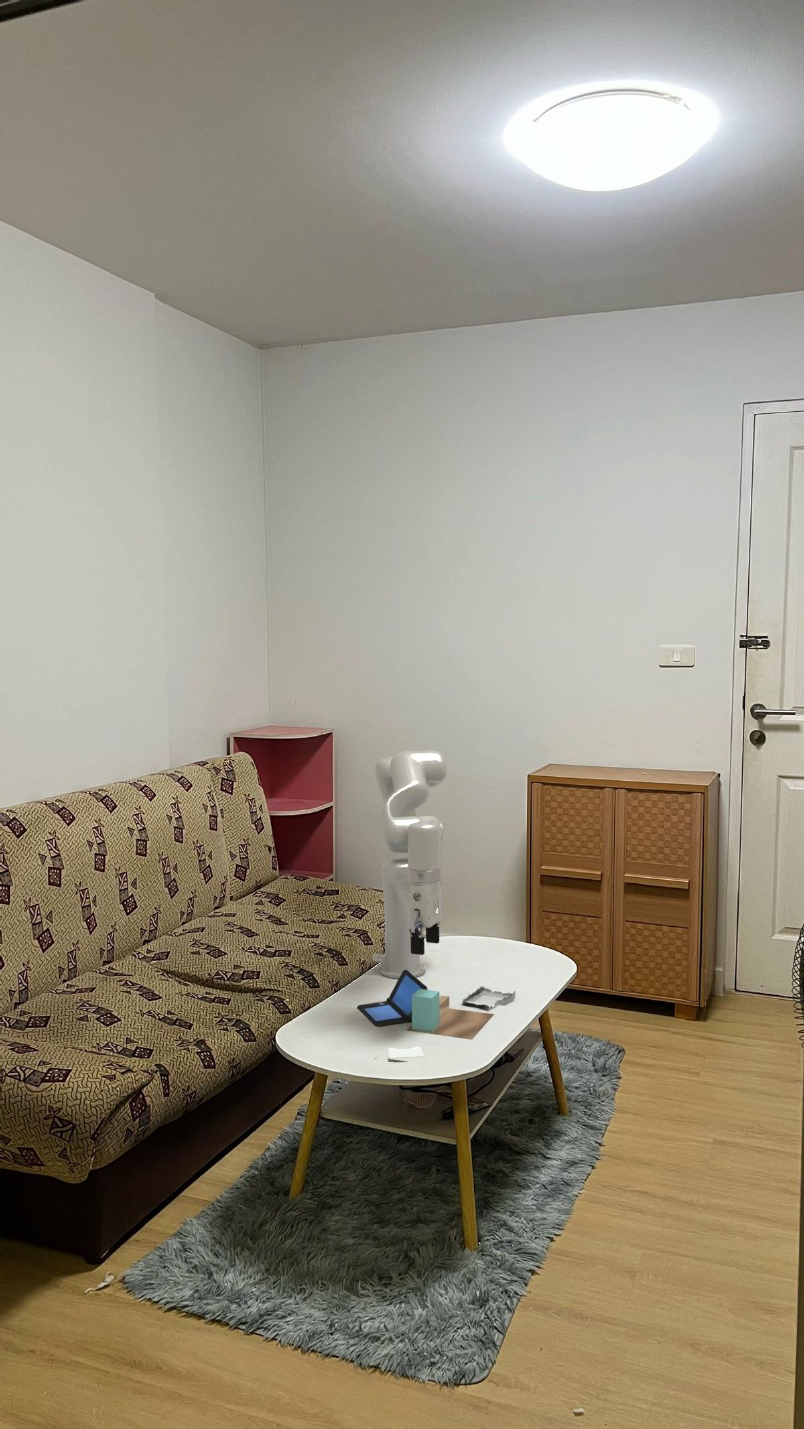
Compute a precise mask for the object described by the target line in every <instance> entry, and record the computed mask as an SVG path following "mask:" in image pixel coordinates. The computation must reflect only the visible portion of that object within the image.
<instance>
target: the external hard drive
mask: <svg viewBox="0 0 804 1429" xmlns="http://www.w3.org/2000/svg"><path fill="white" fill-rule="evenodd" d="M388 1056H389V1058H387V1062H394V1063H408V1060H399V1058H400V1059H402V1058H418V1057H419V1058H420V1057H425V1054H424V1051H423V1050H422V1048H421V1046H420V1045H418V1046H414V1047H409V1048H396V1047H395V1048H394V1047H388Z"/></svg>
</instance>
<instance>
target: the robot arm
mask: <svg viewBox="0 0 804 1429" xmlns="http://www.w3.org/2000/svg"><path fill="white" fill-rule="evenodd" d="M374 771H375V772H374V774H375V779H376V784H377V786H378V788H379V789H378V790H379V791H380V794H381V796H382V800H383V806H382V809H381V815H380V820H381V821H380V823H381V828H382V829H381V830H382V836H383V840H384V843H385V845H386V847H387V850H388V851H389V852H392V853H396V854H406V853H407V857H395V858H391V859H390V858H389V859H388V860H385V862H384V863H383V864H382V866H381V868H380V879H381V885H382V892H383V900H384V901H383V902H384V950H385V951H384V952H385V953H383V954H381V953H372V957H371V958H372V962H373V963H375V964H376V963H377V964H378V963H379V964H380V965H381V966H380V967H379V973H380V974H381V975H382V976H384V977H388V978H392V979H399V977H400V976H401V974H402V972H403V971H404V970H408V971H409V972H410V973H411V974H412V975H413V976H415V977H416V978H417V977H421V976H423V975H424V974H425V973H426V971H427V969H426V968H427V967H426V965H424V964H423V963H421V956H423V955H425V952H426V951H425V941H426V943H427V944H439V943H440V923H441V922H440V921H441V920H442V919H443V901H442V899H443V898H442V889H444V886H445V881H446V880H445V879H446V866H445V838H444V827H443V823H442V822H441V820H440V819H439V818H438V817H436V816H433V815H423V816H422V815H420V816H416V815H417V812H416V811H417V809H418V808H421V807H423V805H425V803H426V802H427V801H428V799H429V797H430V796H429V795H430V791H429V788H435V787H437V786H439V785H441V784H443V783H444V781H445V779H446V778H447V773H448V766H447V760H446V758H445V756H444V755H443V754H442V752H441V751H439V750H437V749H436V750H435V749H434V750H433V749H428V750H405V751H404V750H403V751H400V752H397V753H396V754H395V755H394V756H388V757H383V758H381V759H379V760H378V761H376V764H375V768H374ZM424 931H425V932H424ZM424 933H425V937H424Z"/></svg>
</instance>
